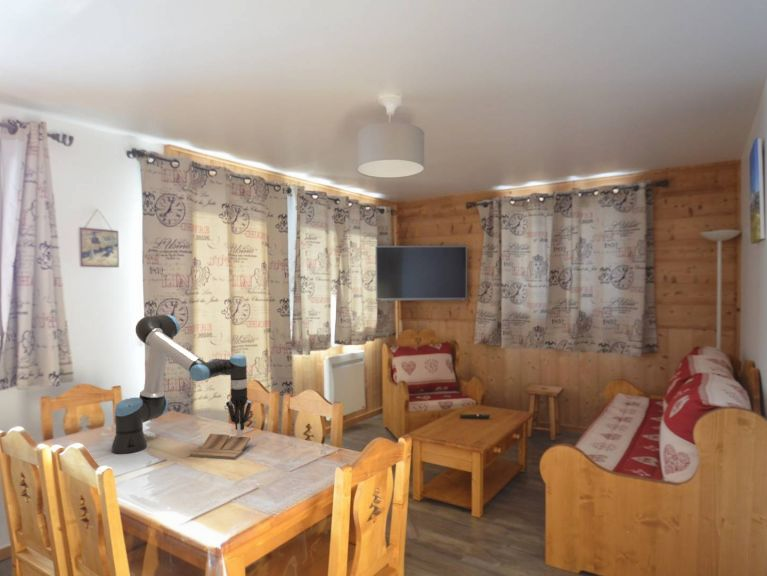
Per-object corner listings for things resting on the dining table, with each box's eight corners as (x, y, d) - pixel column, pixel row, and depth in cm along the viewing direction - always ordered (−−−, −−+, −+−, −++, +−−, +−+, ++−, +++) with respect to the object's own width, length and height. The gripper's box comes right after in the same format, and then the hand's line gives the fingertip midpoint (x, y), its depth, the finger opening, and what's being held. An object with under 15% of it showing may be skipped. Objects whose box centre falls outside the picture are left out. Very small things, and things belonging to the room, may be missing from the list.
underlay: (186, 459, 219) (186, 453, 219) (210, 444, 239) (210, 439, 239) (235, 462, 215) (235, 457, 215) (256, 447, 234) (255, 442, 234)
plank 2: (222, 451, 226) (221, 449, 226) (231, 438, 235) (230, 436, 234) (242, 452, 224) (241, 450, 224) (250, 439, 233) (249, 437, 232)
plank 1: (201, 449, 228) (201, 447, 228) (210, 435, 236) (210, 433, 236) (221, 451, 226) (220, 449, 226) (229, 436, 234) (229, 434, 234)
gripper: (222, 389, 230) (223, 438, 230) (247, 389, 227) (249, 439, 228) (230, 385, 237) (231, 433, 238) (255, 386, 235) (256, 434, 235)
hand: (240, 436), depth 233 cm, fingers closed
